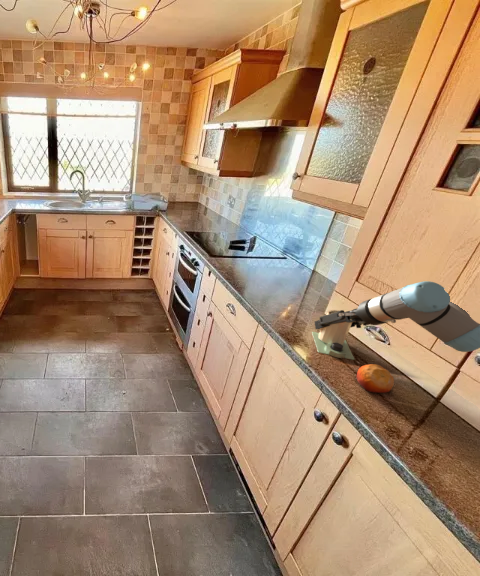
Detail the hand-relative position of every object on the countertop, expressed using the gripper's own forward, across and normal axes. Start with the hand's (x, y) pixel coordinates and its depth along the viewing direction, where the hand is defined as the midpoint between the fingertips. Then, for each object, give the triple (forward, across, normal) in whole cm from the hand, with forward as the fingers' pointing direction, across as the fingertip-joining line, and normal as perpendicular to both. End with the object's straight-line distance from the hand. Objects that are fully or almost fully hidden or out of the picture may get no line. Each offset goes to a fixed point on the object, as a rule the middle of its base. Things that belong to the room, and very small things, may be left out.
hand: (327, 325), depth 109 cm
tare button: (-5, -2, -9) cm, 11 cm away
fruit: (-13, -1, -21) cm, 25 cm away
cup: (0, 0, -5) cm, 5 cm away
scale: (0, -1, -8) cm, 8 cm away
